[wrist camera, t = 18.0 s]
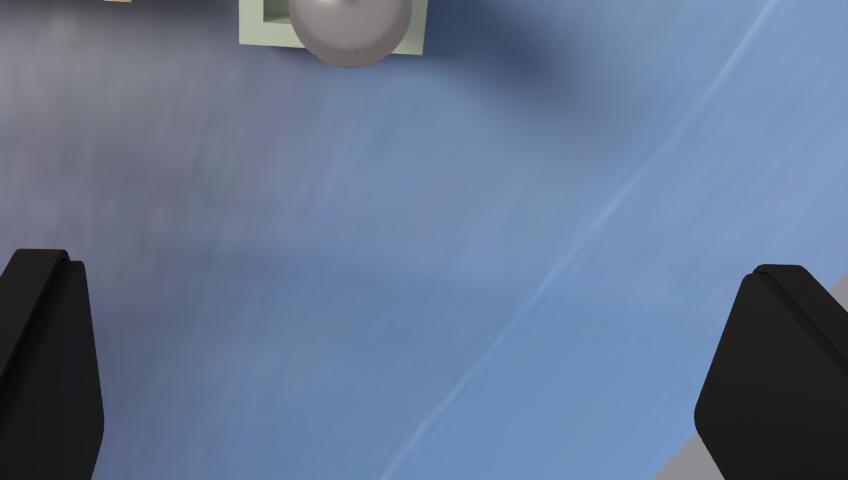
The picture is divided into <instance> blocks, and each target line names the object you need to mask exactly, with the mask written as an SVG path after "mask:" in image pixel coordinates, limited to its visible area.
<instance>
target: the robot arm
mask: <svg viewBox="0 0 848 480" xmlns="http://www.w3.org/2000/svg"><path fill="white" fill-rule="evenodd" d="M694 421H695V426H696V430H697V432H698V434H699V435H700V437H701V439H702V441H703V443H704V444H705V446H706V448H707V449H708V451H709V453H710V455H711V456H712V458H713V460H714V462H715V463H716V465H717V466H718V468H719V470H720V472H721V474H722V475H723V477H724V479H725V480H848V312H847V311H846V310H845V309H844V308H843V307H842V306H841V305H840V304H839V303H838V302H837V301H836V300H835V299H834V298H833V297H832V296H831V295H830V294H829V293H828V292H827V291H826V290H825V288H824V287H823V286H822V285H821V284H820V283H819V282H818V281H817V280H816V279H815V278H814V277H813V276H812V275H811V274H810V273H809V272H808V271H807V270H806V269H805V268H803V267H802V266H799V265H778V264H762V265H760V266H758V267H757V268H756V269H755V270H754V271H753V273H752V274H748V275H746V276H745V277H744V278H743V280H742V282H741V285H740V288H739V290H738V293H737V296H736V298H735V301H734V304H733V307H732V309H731V312H730V315H729V317H728V320H727V323H726V325H725V328H724V331H723V334H722V336H721V339H720V342H719V344H718V347H717V350H716V353H715V355H714V358H713V361H712V363H711V366H710V369H709V371H708V374H707V377H706V380H705V382H704V385H703V388H702V390H701V393H700V396H699V398H698V401H697V404H696V407H695V411H694ZM103 432H104V411H103V403H102V395H101V388H100V380H99V372H98V364H97V357H96V349H95V341H94V333H93V325H92V318H91V310H90V302H89V294H88V287H87V279H86V271H85V266H84V264H83V262H82V261H70V258H69V255H68V253H67V251H66V250H62V249H17V250H16V252H15V253H14V254H13V256H12V258H11V259H10V261H9V263H8V265H7V267H6V268H5V270H4V272H3V274H2V275H1V277H0V480H91V478H92V474H93V471H94V467H95V464H96V460H97V457H98V453H99V450H100V446H101V443H102V438H103Z"/></svg>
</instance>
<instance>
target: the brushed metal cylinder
mask: <svg viewBox="0 0 848 480" xmlns="http://www.w3.org/2000/svg"><path fill="white" fill-rule="evenodd" d="M289 14H290V20H291V23H292V26H293V29H294V31H295V33H296V35H297V37H298V38H299V40H300V42H301V43H302V44H303V45H304V46H305V48H306V49H307V50H308V51H310V52H311V53H312V54H313V55H314V56H316V57H317V58H319V59H321V60H322V61H324V62H327V63H329V64H332V65H335V66H339V67H346V68H356V67H363V66H367V65H371V64H373V63H376V62H378V61H380V60H382V59H383V58H385V57H386V56H388V55H389V54H390V53H391V52H392V51H394V50H395V49H396V48H397V46H398V45H399V44H400V43H401V41H402V39H403V38H404V36H405V34H406V32H407V30H408V28H409V24H410V21H411V15H412V0H289Z"/></svg>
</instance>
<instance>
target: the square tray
mask: <svg viewBox="0 0 848 480" xmlns="http://www.w3.org/2000/svg"><path fill="white" fill-rule="evenodd" d="M427 5H428V0H412V15H411V21H410V24H409V28H408V30H407V32H406V34H405V36H404V38H403V39H402V41H401V43H400V44H399V45H398V46H397V48H396V49H395V50H394V51H392V52H391V53H396V54H413V55H422V52H423V42H424V33H425V24H426V15H427ZM239 44H250V45H267V46H283V47H299V48H305V46H304V45H303V44H302V43H301V42H300V40H299V38H298V37H297V35H296V33H295V31H294V29H293V26H292V23H291V20H290V14H289V0H239Z"/></svg>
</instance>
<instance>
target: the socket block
mask: <svg viewBox="0 0 848 480" xmlns="http://www.w3.org/2000/svg"><path fill="white" fill-rule="evenodd" d="M106 1H120V2H132V0H106Z"/></svg>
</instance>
